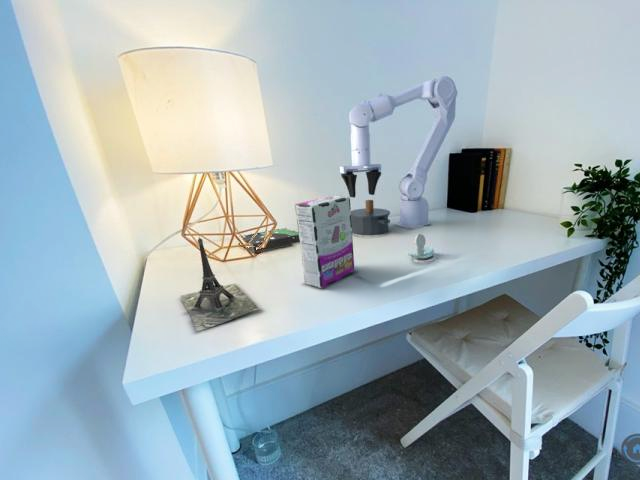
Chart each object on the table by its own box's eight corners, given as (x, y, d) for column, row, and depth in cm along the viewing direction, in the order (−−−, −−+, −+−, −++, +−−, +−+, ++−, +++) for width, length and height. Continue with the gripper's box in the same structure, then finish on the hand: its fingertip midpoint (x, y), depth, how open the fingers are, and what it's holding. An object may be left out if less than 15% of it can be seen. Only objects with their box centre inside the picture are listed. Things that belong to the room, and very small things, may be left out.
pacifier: (442, 260, 82) (424, 254, 86) (444, 235, 80) (425, 230, 84) (420, 267, 78) (403, 260, 82) (422, 241, 75) (403, 235, 80)
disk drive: (254, 254, 88) (304, 242, 97) (252, 244, 87) (302, 232, 96) (238, 246, 95) (285, 235, 104) (236, 236, 94) (284, 226, 103)
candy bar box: (337, 268, 78) (332, 194, 71) (355, 272, 75) (351, 196, 69) (302, 284, 69) (293, 202, 62) (321, 289, 67) (313, 205, 60)
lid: (373, 210, 113) (372, 196, 111) (398, 215, 104) (398, 200, 102) (341, 215, 106) (340, 200, 104) (365, 222, 97) (365, 205, 95)
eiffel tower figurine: (261, 312, 58) (248, 236, 53) (197, 331, 52) (174, 248, 47) (234, 285, 69) (221, 220, 64) (178, 299, 63) (158, 228, 58)
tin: (367, 224, 117) (367, 207, 114) (401, 234, 105) (401, 215, 102) (339, 230, 110) (338, 212, 108) (371, 241, 98) (371, 220, 96)
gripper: (348, 150, 96) (350, 199, 101) (387, 149, 104) (387, 194, 110) (334, 150, 101) (337, 197, 106) (373, 149, 109) (374, 192, 115)
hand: (362, 195), depth 109 cm, fingers open, 7 cm apart
